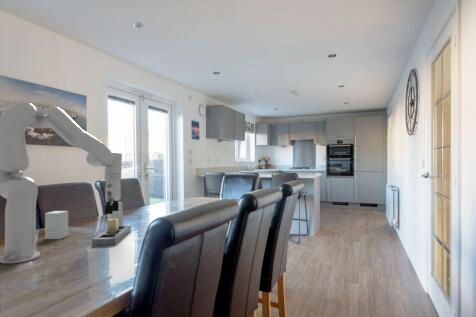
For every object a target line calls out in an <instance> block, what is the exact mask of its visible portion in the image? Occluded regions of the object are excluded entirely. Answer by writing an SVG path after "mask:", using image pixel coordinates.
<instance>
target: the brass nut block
mask: <svg viewBox="0 0 476 317" xmlns="http://www.w3.org/2000/svg"><path fill="white" fill-rule="evenodd" d="M106 221H107V225H106V226H107V227H106V229H107V233H118V232H119V219H109V220H106Z"/></svg>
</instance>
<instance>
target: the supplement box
mask: <svg viewBox="0 0 476 317" xmlns="http://www.w3.org/2000/svg"><path fill="white" fill-rule="evenodd" d="M44 237H45V238H44V240H61V239H63V238H66V237H69V210H54V211H48V212H45V213H44Z"/></svg>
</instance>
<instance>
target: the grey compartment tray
mask: <svg viewBox="0 0 476 317" xmlns="http://www.w3.org/2000/svg"><path fill="white" fill-rule="evenodd" d="M131 231H132V227H131V225H123V226H119V232H118V233H107V228H106V229H105V230H104V231H102V232H101V233H99V234H98V235H96V236H95V237H93V238H92V239H91V247H106V246H107V247H108V246H110V247H111V246H117V245H118V244H119V243H120V242H121V241H122V240H123V239H124V238H125V237H126V236H127V235H128V234H130V232H131Z"/></svg>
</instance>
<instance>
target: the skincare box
mask: <svg viewBox="0 0 476 317" xmlns="http://www.w3.org/2000/svg"><path fill="white" fill-rule="evenodd" d="M123 211H124V210H123V202H122V201H121V202H120V201H119V207H118V211H113V213H112V214H106V215H107V220H109V219H119V226H124V215H123V214H124V213H123ZM107 220H106V221H107Z"/></svg>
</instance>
